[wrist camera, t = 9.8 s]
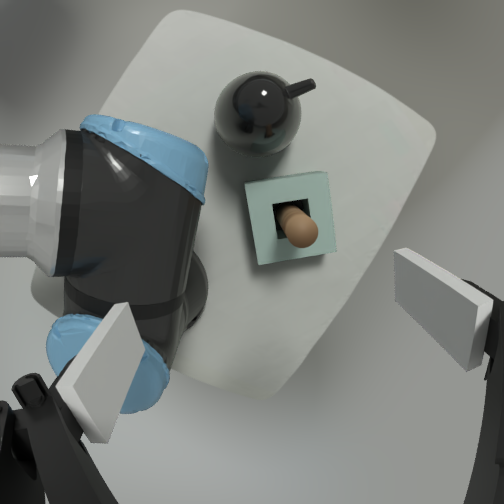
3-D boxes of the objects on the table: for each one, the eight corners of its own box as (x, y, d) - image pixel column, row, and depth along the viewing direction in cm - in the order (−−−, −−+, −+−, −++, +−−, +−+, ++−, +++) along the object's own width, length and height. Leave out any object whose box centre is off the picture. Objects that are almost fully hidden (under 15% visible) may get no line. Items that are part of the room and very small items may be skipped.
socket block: (256, 254, 45) (258, 265, 40) (244, 182, 42) (244, 184, 37) (326, 242, 45) (336, 251, 40) (317, 171, 42) (327, 172, 37)
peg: (273, 204, 43) (284, 219, 32) (297, 200, 43) (316, 214, 31) (277, 227, 44) (289, 250, 32) (300, 223, 44) (319, 245, 32)
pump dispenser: (307, 141, 41) (340, 131, 26) (234, 169, 42) (230, 172, 27) (278, 74, 38) (296, 32, 24) (205, 101, 39) (186, 70, 24)
